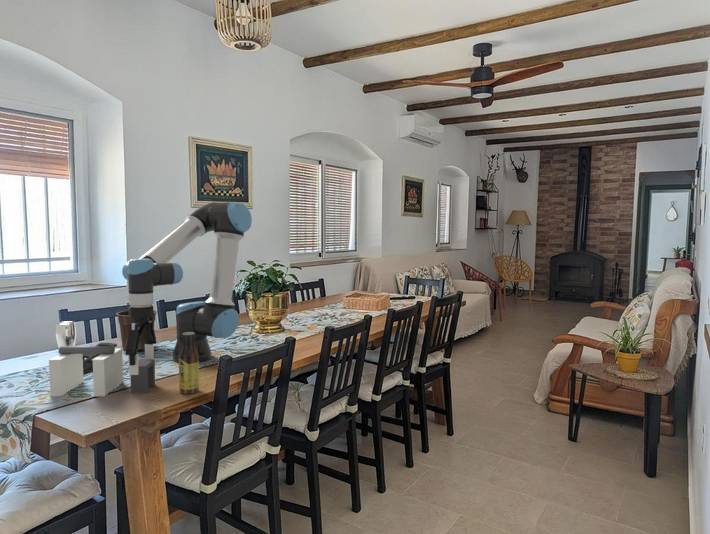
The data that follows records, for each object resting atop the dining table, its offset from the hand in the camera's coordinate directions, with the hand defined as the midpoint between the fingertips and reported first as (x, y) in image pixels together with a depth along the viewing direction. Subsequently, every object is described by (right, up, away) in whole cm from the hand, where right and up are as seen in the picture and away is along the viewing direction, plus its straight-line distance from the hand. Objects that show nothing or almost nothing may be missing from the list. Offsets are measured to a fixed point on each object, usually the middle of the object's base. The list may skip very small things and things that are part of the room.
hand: (141, 368), depth 165 cm
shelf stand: (-18, -7, 0) cm, 19 cm away
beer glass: (-45, -4, +34) cm, 56 cm away
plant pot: (-24, -2, +53) cm, 58 cm away
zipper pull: (-31, -5, +24) cm, 40 cm away
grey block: (0, -7, +1) cm, 7 cm away
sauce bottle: (+16, -8, -1) cm, 18 cm away
